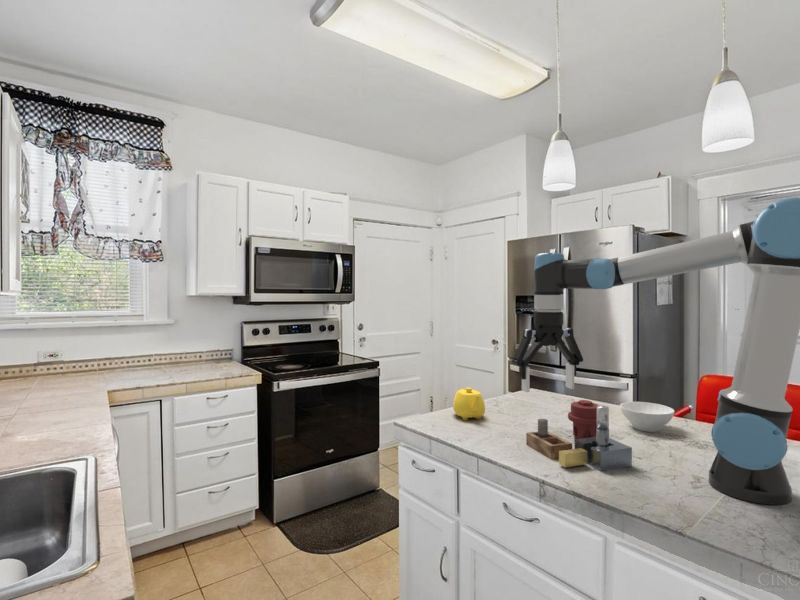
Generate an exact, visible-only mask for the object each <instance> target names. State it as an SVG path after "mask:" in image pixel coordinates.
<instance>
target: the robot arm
mask: <svg viewBox="0 0 800 600" xmlns="http://www.w3.org/2000/svg"><path fill="white" fill-rule="evenodd" d="M564 255H565V254H564V253H562V252H542V253H537V254H536V255H535V257H534V267H533V268H534V269H533V282H534V283H533V286H534V287H533V288H534V291H533V296H534V297H533V302H534V304H533V308H534V310H536V311H534V312H533V324H534V329H533V330H532V329H528V328H527V329H526V328H524V329H523V333H522V338H521V340H520V343H519V345H518V347H517V349H516V352H515V354H514V357H513V359H512V362H511V363H512V364H513V365H517V366H518V372H519V373H518V377H519V379H521V391H523V392H525V393H530V390H531V389H530V388H531V387H530V384H531V383H530V382H531V381H530V380H531V379H530V373H531V372H530V369H531V368H530V366H528V365H529V364H530V363H531V361H532V360H533V358H535V356H536V354H537V353H538V352H539V351H540V349H541V348H543V347H550V346H553V347H554V346H555V347H556V348H557V349H558V350H559V352H560V353H561V355H562V356H563V357H564V358H565V360H566V361H567V362H568V363H565V388H567V389H571V390H575V377H576V375H577V366H579V365H580V363H583V361H584V357H583V355H582V353H581V350H580V348H579V346H578V344H577V341H576V338H575V335H574V334H575V333H574V329H573V328H571V327H564V328H563V325H564V313H563V310H564V309H565V306H564V305H565V303H564V300H565V299H564V298H565V297H564V293H565V292H564V290H565V289H566V290H567V289H568V290H569V289H573V290H575V289H578V290H580V289H581V290H582V289H583V290H590V289H591V290H608V289H611V288H613V287H619V286H623V285H628V284H633V283H638V282H643V281H644V282H645V281H649V280H655V279H660V278H664V277H665V278H666V277H670V276H671V277H672V276H675V275H682V274H686V273H687V274H688V273H690V272H695V271H696V272H697V271H702V270H707V269H711V268H713V269H714V268H717V267H723V266H729V265H733V264H738V263H742V264H744V265H746V266H747V267H748V269H749V270H750V271H751V272H752V273H753V279H752V284H751V289H750V294H749V299H748V303H747V307H746V314H745V318H744V323H743V328H742V332H741V338H740V342H739V347H738V353H737V357H736V358H737V359H736V361H735V367H734V372H733V377H732V382H731V386H730V387H727V388H724V389H721V390H720V391H719V392H718V398H717V402H718V405H717V411H716V416H715V421H714V423H713V425H712V427H711V428H712V429H711V432H710V433H711V437H712V442H713V444H714V447H715V449H716V451H717V452H716V455H715V457H714V460H713V461H712V464H711V466H710V469H709V471H708V483H709V484H710V486H711V487H712V488H714V489H715V490H717V491H718V492H721V493H722V494H725V495H727V496H729V497H733V498H736V499H739V500H743V501H746V502H751V503H756V504H762V505H771V506H772V505H773V506H774V505H775V506H777V505H785V504H786V505H787V504H789V503H791V502H792V501H793V500H792V499H793V498H792V497H793V496H792V495H793V494H792V493H793V491H792V486H791V485H790V482H789V479H788V476H787V474H786V471H785V468H784V465H783V459H784V458H785V457H786V454H787V452H788V447H789V446H788V441H787V437H788V433H789V432H788V431H789V426H790V422H791V418H792V413H793V407H792V406H791V404H790V403H789V402H788V401H787V400H786V398H785V397H786V393H787V389H788V384H789V379H790V375H791V369H792V365H793V360H794V357H795V354H796V353H795V351H796V347H797V344H798V339H799V333H800V196H798V197H788V198H784V199H783V198H782V199H780V200H778V201H775V202H773V203H771V204H769V205H767V206H766V207H765V208H764V209H762V210H761V211H760V212H759V214H757V216H756V218H755V220H752V221H750V222H746V223H745V222H744V223H742V224H741V223H740V224H738V225H737V226H736V227H735V228H734V229H733V230H731V231H727V232H722V233H717V234H713V235H709V236H705V237H700V238H696V239H692V240H687V241H684V242H683V241H682V242H680V243H676V244H675V243H674V244H671V245H665V246H662V247H657V248H652V249H648V250H645V251H640V252H636V253H631V254H627V255H623V256H619V257H614V258H599V257H598V258H596V257H595V258H585V259H584V258H583V259H565V256H564ZM562 337H564V339H565V341H564V340H563V339H562ZM532 338H534V339H533V341H532ZM531 342H532V343H531ZM565 342H566V343H565ZM530 344H531V345H530ZM566 344H567V345H566ZM529 346H530V347H529Z"/></svg>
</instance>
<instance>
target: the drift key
mask: <svg viewBox="0 0 800 600" xmlns="http://www.w3.org/2000/svg"><path fill="white" fill-rule="evenodd" d="M558 464H559V465H560V466H562V467H563V468H571V467H577V466H584V465H588V461H587V451H586V450H584V449H582V448H578V449H575V448H572V449H570V450H563V451H559V458H558Z"/></svg>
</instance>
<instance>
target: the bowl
mask: <svg viewBox="0 0 800 600" xmlns="http://www.w3.org/2000/svg"><path fill="white" fill-rule="evenodd" d="M619 408H620V411H621V412H622V415H624V417H625V418H626V419H627V420H628V421H629V423H630V424H631V425H632V426H633V428H634V429H636V430H638V431H639V430H640V431H643V432H647V433H648V432H650V433H656V432H659V431H661V429H662V428H663V427H665V425H667V424H668V423H670V422H671V420H672V419H673V417H674V415H675V410H674V408H672V407H669V406H667V405H664V404H660V403H654V402H648V401H647V402H645V401H626V402H622V403H620V404H619Z"/></svg>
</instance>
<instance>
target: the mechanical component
mask: <svg viewBox="0 0 800 600" xmlns="http://www.w3.org/2000/svg"><path fill="white" fill-rule="evenodd" d="M597 406H600V405H599V404H598V403H594V402H593V401H591V400H586V399H580V400H578V401H573V402H571V403H570V411H569V412H568V413H567V419H568V420H569V421H570V422H572V435H573V439H574V440H575V439H582V438H590V437H596V428H597Z"/></svg>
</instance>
